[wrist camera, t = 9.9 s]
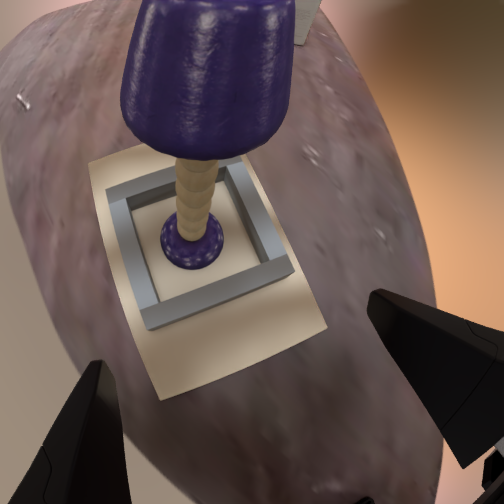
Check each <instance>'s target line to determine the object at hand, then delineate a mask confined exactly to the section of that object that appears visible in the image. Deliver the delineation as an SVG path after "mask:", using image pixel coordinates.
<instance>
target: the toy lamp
mask: <svg viewBox="0 0 504 504" xmlns="http://www.w3.org/2000/svg"><path fill="white" fill-rule="evenodd" d="M295 12H296V6H295V0H143V1H142V4H141V7H140V10H139V13H138V16H137V19H136V23H135V27H134V31H133V34H132V37H131V41H130V45H129V49H128V55H127V59H126V64H125V68H124V73H123V78H122V85H121V92H120V106H121V111H122V115H123V118H124V121H125V123H126V125H127V127H128V128H129V129H130V130H131V131H132V133H133V134H134V135H135V136H136V137H137V138H138V139H139V140H140V141H141V142H143V143H145V144H146V145H148V146H149V147H151V148H152V149H154V150H155V151H158V152H160V153H163V154H167V155H170V156H173V157H176V162H175V172H176V176H177V179H176V184H175V188H176V193H177V197H176V207H177V211H176V212H174V213H173V214H172V215H171V216H170V217H169V218H168V219H167V220H166V222H165V223H164V225H163V228H162V230H161V235H160V243H161V247H162V250H163V252H164V255H165V256H166V258H167V259H168V260H169V261H170V262H171V263H173V264H174V265H176V266H177V267H179V268H182V269H186V270H198V269H202V268H204V267H207V266H208V265H210V264H211V263H213V262H214V261H215V260H216V259H217V258H218V257H219V255H220V253H221V251H222V249H223V244H224V235H223V230H222V227H221V225H220V223H219V221H218V220H217V219H216V217H215V216H214V215H212V214H211V213H210V212H209V211H210V208H211V204H212V197H213V194H214V191H215V180H216V178H217V175H218V169H219V162H218V161H219V160H224V159H230V158H233V157H236V156H239V155H244V154H246V153H247V152H249V151H252V150H254V149H256V148H257V147H259V146H261V145H263V144H265V143H266V142H267V141H268V140H269V139H270V138H271V137H272V136H273V135H274V134H275V133H276V131H277V130H278V129H279V127H280V126H281V124H282V122H283V120H284V118H285V115H286V112H287V109H288V105H289V97H290V87H291V76H292V65H293V53H294V36H295Z"/></svg>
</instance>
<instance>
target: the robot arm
mask: <svg viewBox="0 0 504 504" xmlns="http://www.w3.org/2000/svg"><path fill="white" fill-rule="evenodd" d="M367 314H368V317H369V319H370V320H371V322H372V324H373V326H374V327H375V329H376V331H377V333H378V335H379V336H380V338H381V340H382V342H383V344H384V345H385V347H386V349H387V350H388V352H389V353H390V355H391V356H392V358H393V359H394V361H395V362H396V364H397V365H398V367H399V368H400V370H401V371H402V372H403V374H404V375H405V377H406V378H407V380H408V382H409V383H410V385H411V386H412V388H413V389H414V391H415V392H416V394H417V395H418V397H419V398H420V400H421V401H422V403H423V405H424V406H425V408H426V409H427V411H428V413H429V414H430V416H431V417H432V419H433V421H434V422H435V424H436V425H437V427H438V429H439V430H440V432H441V434H442V435H443V437H444V439H445V440H446V442H447V444H448V445H449V447H450V449H451V450H452V452H453V454H454V456H455V457H456V459H457V461H458V463H459V464H460V466H461V467H462V469H465V468H466V467H467V466H469V465H470V464H471V463H472V462H474V461H475V460H477V459H478V458H479V457H480V456H482V455H483V454H484V453H485V452H487V451H488V450H489V449H490V448H491V447H493V446H495V449H494V451H493V452H492V453H491V454H490V455H489V456H488V457H487V458H486V459H485V461H484V470H483V479H482V487H483V488H484V490H485V492H484V493H483V494H482V495H481V496H480V497H479V498H478V499H477V500H476V501H475V502H474V503H473V504H504V332H503V331H499V330H496V329H492V328H489V327H485V326H483V325H480V324H477V323H474V322H471V321H469V320H466V319H465V320H464V319H463V318H460V317H458V316H455V315H453V314H450V313H447V312H444V311H442V310H439V309H436V308H434V307H431V306H428V305H426V304H423V303H420V302H417V301H415V300H412V299H409V298H407V297H404V296H401V295H398V294H396V293H393V292H390V291H387V290H385V289H381V288H380V289H377V290H374V291H372V292H371V293H370V296H369V301H368V305H367ZM8 504H132V502H131V496H130V490H129V483H128V476H127V469H126V461H125V451H124V442H123V429H122V421H121V415H120V409H119V403H118V397H117V390H116V383H115V379H114V376H113V374H112V373H111V371H110V369H109V368H108V366H107V364H106V363H105V361H104V360H94V361H91V362H90V363H89V365H88V366H87V368H86V370H85V371H84V373H83V374H82V376H81V378H80V379H79V381H78V382H77V384H76V386H75V387H74V389H73V391H72V393H71V394H70V396H69V397H68V399H67V401H66V403H65V404H64V406H63V408H62V410H61V411H60V413H59V415H58V416H57V418H56V420H55V422H54V424H53V425H52V427H51V429H50V431H49V433H48V434H47V436H46V438H45V440H44V442H43V446H41V447H40V449H39V451H38V453H37V455H36V457H35V459H34V461H33V462H32V464H31V466H30V468H29V470H28V471H27V473H26V475H25V476H24V478H23V480H22V481H21V483H20V484H19V486H18V488H17V489H16V491H15V493H14V494H13V496H12V497H11V499H10V501H9V503H8ZM357 504H375V503H374V500H373V499H372V498H370V497H366V498H364V499H363V500H361V501H360V502H358V503H357Z"/></svg>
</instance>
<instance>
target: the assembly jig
mask: <svg viewBox="0 0 504 504" xmlns="http://www.w3.org/2000/svg"><path fill="white" fill-rule="evenodd" d="M175 162H176V157H173V156H170V155H167V154H163V153H160V152H158V151H155V150H154V149H152V148H151V147H149V146H148V145H146V144H145V143H144V144H141V145H137V146H134V147H131V148H129V149H126V150H123V151H120V152H117V153H114V154H111V155H109V156H106V157H103V158H101V159H98V160H95V161H93V162H90V163H88V166H89V173H90V179H91V185H92V190H93V196H94V201H95V206H96V211H97V215H98V220H99V224H100V229H101V233H102V237H103V241H104V245H105V249H106V253H107V257H108V260H109V264H110V268H111V271H112V275H113V278H114V281H115V285H116V288H117V291H118V294H119V297H120V300H121V303H122V306H123V309H124V312H125V315H126V318H127V321H128V324H129V327H130V329H131V332H132V335H133V337H134V340H135V343H136V345H137V348H138V350H139V353H140V355H141V358H142V360H143V363H144V365H145V367H146V370H147V372H148V374H149V377H150V379H151V381H152V384H153V386H154V388H155V390H156V392H157V395H158V397H159V399H160V401H161V400H164V399H167V398H170V397H173V396H176V395H178V394H181V393H184V392H187V391H189V390H192V389H195V388H197V387H200V386H202V385H205V384H208V383H210V382H213V381H215V380H218V379H220V378H223V377H225V376H227V375H230V374H232V373H235V372H237V371H239V370H242V369H244V368H246V367H249V366H251V365H253V364H255V363H258V362H260V361H262V360H264V359H266V358H268V357H271V356H273V355H275V354H277V353H279V352H281V351H283V350H285V349H288V348H290V347H292V346H294V345H296V344H298V343H300V342H302V341H304V340H306V339H308V338H310V337H312V336H314V335H315V334H317V333H319V332H321V331H323V330H325V329H327V325H326V323H325V321H324V319H323V316H322V314H321V312H320V309H319V307H318V305H317V303H316V300H315V298H314V296H313V294H312V292H311V289H310V287H309V285H308V283H307V280H306V278H305V276H304V274H303V272H302V270H301V267H300V265H299V263H298V261H297V259H296V257H295V254H294V252H293V250H292V248H291V246H290V244H289V242H288V239H287V237H286V235H285V233H284V231H283V229H282V227H281V225H280V223H279V221H278V219H277V216H276V214H275V212H274V210H273V208H272V206H271V204H270V202H269V200H268V198H267V196H266V194H265V192H264V190H263V188H262V186H261V184H260V182H259V180H258V178H257V176H256V174H255V172H254V170H253V168H252V166H251V164H250V162H249V160H248V158H247V156H246V154H244V155H239V156H236V157H233V158H230V159H224V160H219V161H218V162H219V169H218V175H217V178H216V180H215V191H214V194H213V197H212V204H211V208H210V211H209V212H210V213H211V214H212V215H214V216H215V217H216V219H217V220H218V221H219V223H220V225H221V227H222V230H223V235H224V244H223V249H222V251H221V253H220V255H219V257H218V258H217V259H216V260H215V261H214V262H213V263H211V264H210V265H208V266H207V267H204V268H202V269H198V270H186V269H182V268H179V267H177V266H176V265H174V264H173V263H171V262H170V261H169V260H168V259H167V258H166V256H165V255H164V252H163V250H162V247H161V243H160V235H161V230H162V228H163V225H164V223H165V222H166V220H167V219H168V218H169V217H170V216H171V215H172V214H173V213H174V212H176V211H177V207H176V197H177V193H176V188H175V184H176V179H177V176H176V172H175Z"/></svg>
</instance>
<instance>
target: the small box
mask: <svg viewBox="0 0 504 504" xmlns="http://www.w3.org/2000/svg"><path fill="white" fill-rule="evenodd" d="M320 3H321V0H295V6H296V12H295V36H294V44H296V45H304V43H305V41H306V38H307V36H308V33H309V31H310V28H311V25H312V23H313V20H314V18H315V15H316V13H317V10H318V8H319V6H320Z"/></svg>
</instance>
